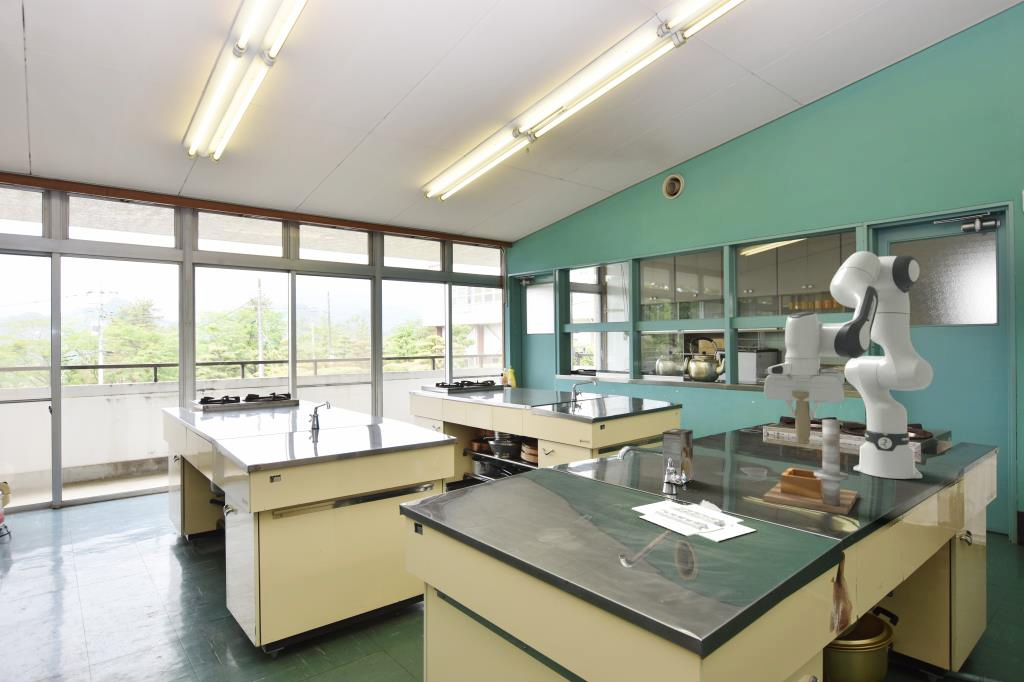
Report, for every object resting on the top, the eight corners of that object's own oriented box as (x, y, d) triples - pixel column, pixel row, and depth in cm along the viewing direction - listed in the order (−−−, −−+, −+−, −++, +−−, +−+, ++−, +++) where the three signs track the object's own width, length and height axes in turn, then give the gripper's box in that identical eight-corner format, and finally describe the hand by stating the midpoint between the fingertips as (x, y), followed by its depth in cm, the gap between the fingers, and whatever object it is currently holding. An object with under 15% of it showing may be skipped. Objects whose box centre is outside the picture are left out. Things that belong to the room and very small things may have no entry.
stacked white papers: (708, 548, 120) (707, 531, 120) (621, 517, 144) (621, 503, 144) (766, 531, 130) (765, 515, 130) (676, 505, 154) (676, 492, 154)
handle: (789, 443, 156) (788, 391, 156) (799, 441, 160) (799, 389, 160) (806, 446, 152) (806, 392, 152) (816, 443, 156) (816, 391, 156)
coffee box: (674, 476, 179) (674, 427, 179) (693, 479, 175) (693, 429, 175) (662, 482, 172) (662, 431, 172) (681, 485, 168) (681, 433, 168)
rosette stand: (781, 485, 167) (780, 409, 167) (857, 497, 155) (857, 414, 155) (762, 501, 151) (762, 417, 151) (846, 516, 139) (846, 423, 138)
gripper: (846, 368, 152) (846, 418, 152) (767, 366, 165) (768, 412, 165) (842, 370, 147) (843, 421, 147) (761, 368, 160) (762, 415, 160)
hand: (802, 416), depth 156 cm, fingers closed on handle, 3 cm apart
